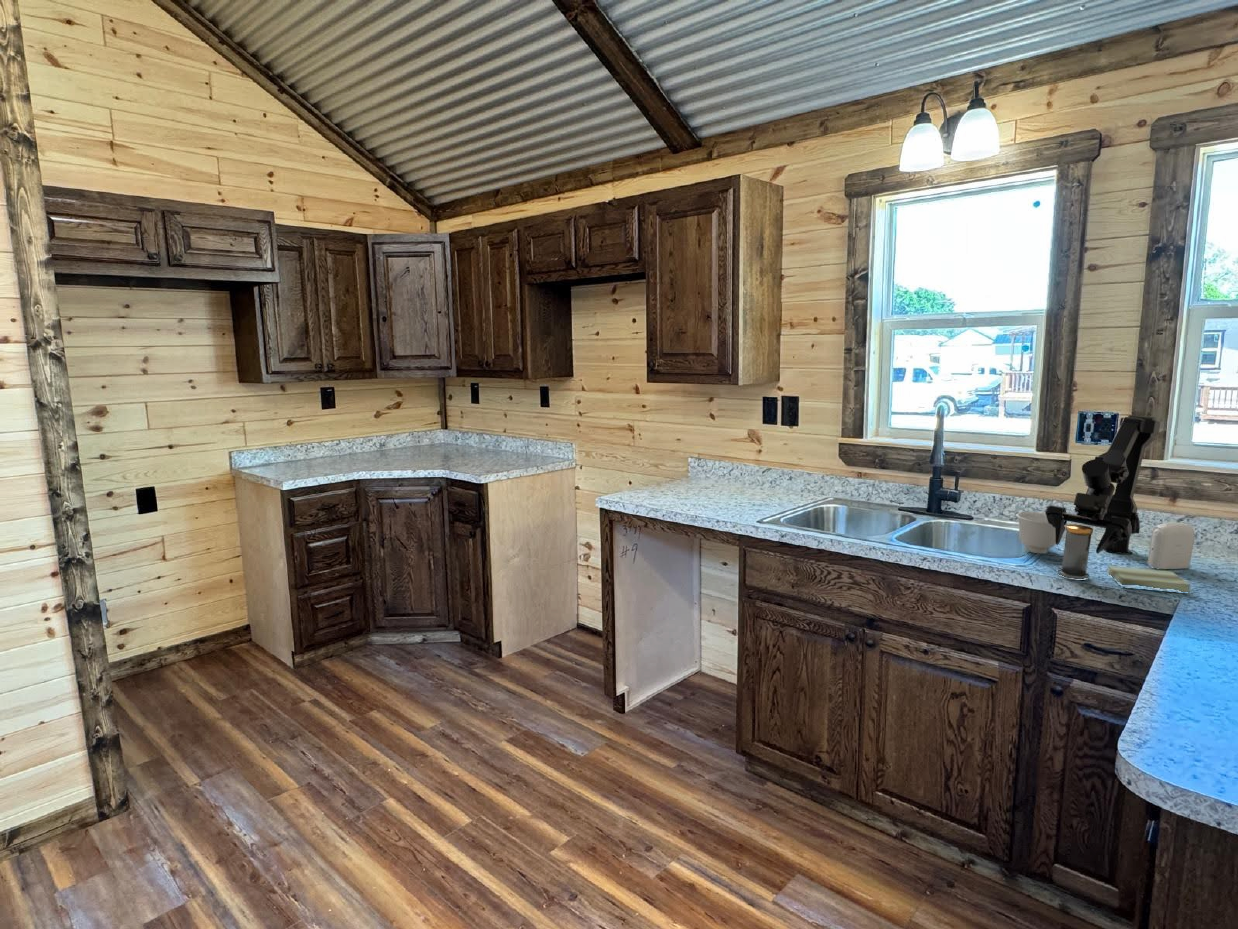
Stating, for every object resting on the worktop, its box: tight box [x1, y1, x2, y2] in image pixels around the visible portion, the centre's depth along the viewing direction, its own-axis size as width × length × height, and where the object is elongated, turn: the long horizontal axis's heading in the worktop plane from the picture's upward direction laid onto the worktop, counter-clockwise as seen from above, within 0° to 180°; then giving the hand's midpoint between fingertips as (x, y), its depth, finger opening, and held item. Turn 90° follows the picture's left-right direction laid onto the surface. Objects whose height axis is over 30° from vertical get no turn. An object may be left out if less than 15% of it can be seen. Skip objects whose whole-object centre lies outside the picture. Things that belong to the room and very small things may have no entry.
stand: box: [1107, 565, 1191, 592], centre depth 181 cm, size 10×14×2 cm
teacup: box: [1015, 511, 1056, 554], centre depth 208 cm, size 12×15×10 cm
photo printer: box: [1146, 522, 1196, 570], centre depth 193 cm, size 10×4×12 cm, turn 96°
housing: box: [1057, 523, 1094, 579], centre depth 186 cm, size 7×7×13 cm
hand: (1076, 548), depth 185 cm, fingers open, 9 cm apart
